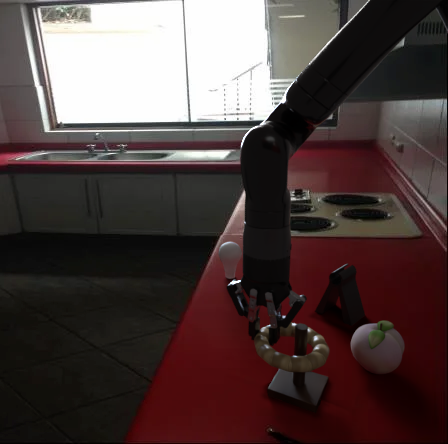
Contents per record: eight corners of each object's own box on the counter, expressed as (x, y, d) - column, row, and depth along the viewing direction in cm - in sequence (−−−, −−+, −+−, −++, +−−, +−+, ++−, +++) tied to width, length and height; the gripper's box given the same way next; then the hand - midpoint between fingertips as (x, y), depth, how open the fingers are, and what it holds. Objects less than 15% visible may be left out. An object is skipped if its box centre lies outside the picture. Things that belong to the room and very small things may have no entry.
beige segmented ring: (334, 343, 72) (336, 331, 71) (318, 385, 63) (319, 372, 62) (268, 324, 78) (268, 313, 77) (243, 360, 69) (244, 347, 68)
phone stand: (313, 315, 94) (316, 266, 90) (327, 305, 97) (330, 258, 94) (352, 331, 87) (357, 279, 83) (366, 320, 91) (371, 270, 87)
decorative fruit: (354, 350, 81) (359, 305, 78) (402, 364, 76) (409, 316, 73) (343, 378, 74) (347, 329, 71) (395, 395, 69) (402, 343, 66)
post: (328, 383, 73) (333, 321, 69) (315, 413, 66) (320, 346, 63) (282, 369, 77) (285, 309, 73) (267, 395, 71) (269, 332, 67)
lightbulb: (217, 284, 111) (216, 246, 107) (220, 274, 116) (220, 237, 113) (240, 286, 109) (240, 247, 106) (243, 276, 115) (243, 239, 111)
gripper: (216, 249, 68) (218, 340, 74) (303, 265, 61) (297, 365, 66) (235, 235, 74) (235, 320, 79) (317, 248, 66) (310, 341, 72)
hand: (264, 340), depth 73 cm, fingers closed on beige segmented ring, 2 cm apart
